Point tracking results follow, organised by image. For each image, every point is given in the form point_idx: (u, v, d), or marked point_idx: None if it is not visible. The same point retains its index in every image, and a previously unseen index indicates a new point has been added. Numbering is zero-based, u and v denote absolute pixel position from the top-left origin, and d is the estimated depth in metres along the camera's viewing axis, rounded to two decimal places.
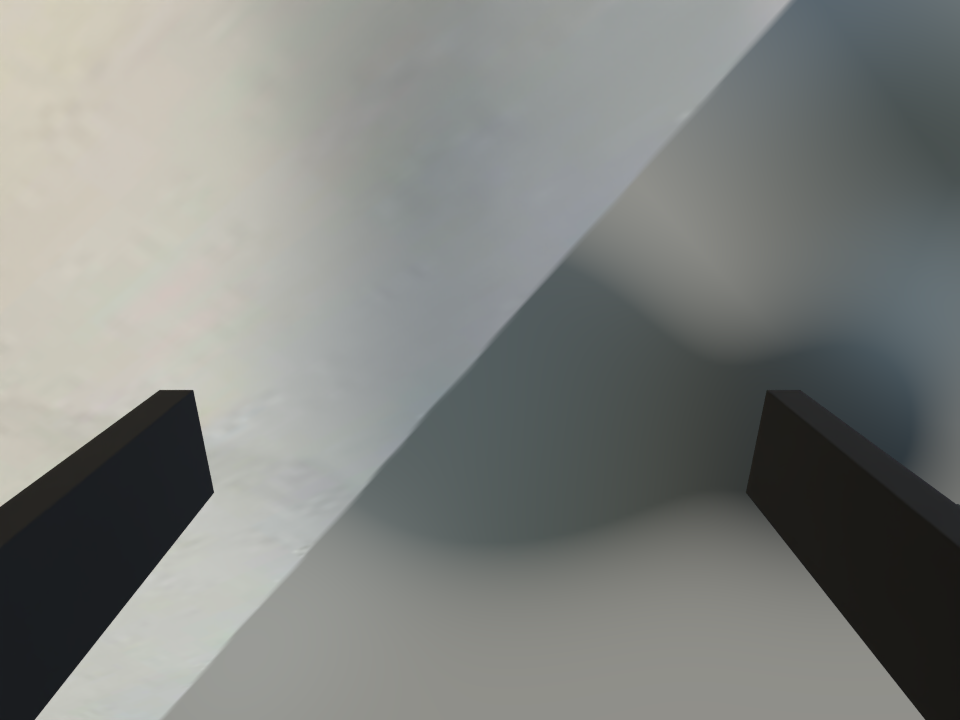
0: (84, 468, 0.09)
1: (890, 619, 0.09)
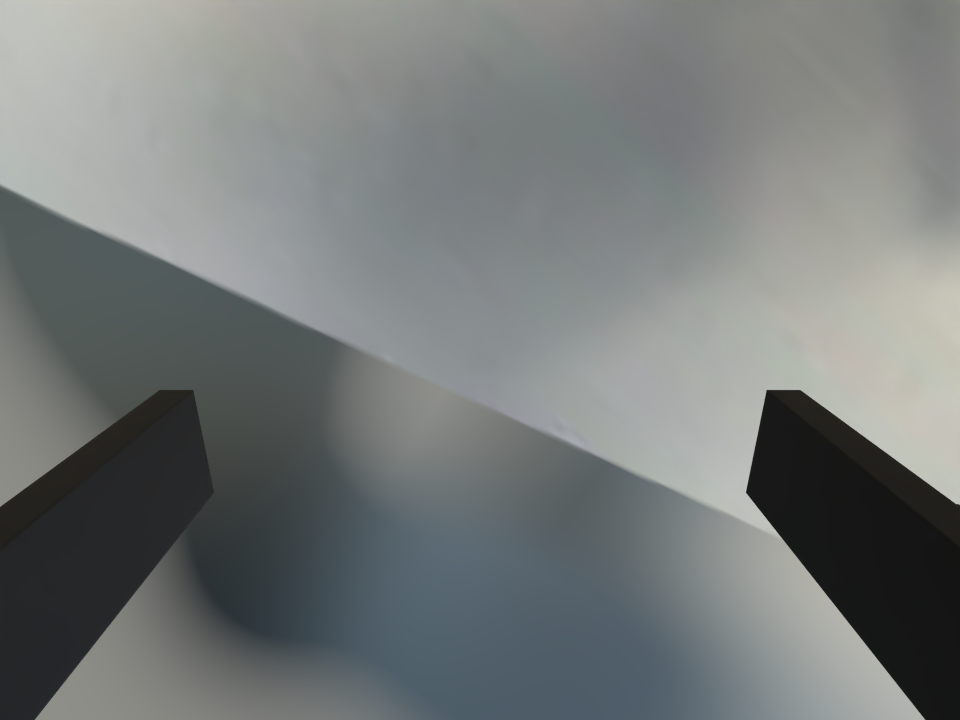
0: (84, 468, 0.09)
1: (890, 619, 0.09)
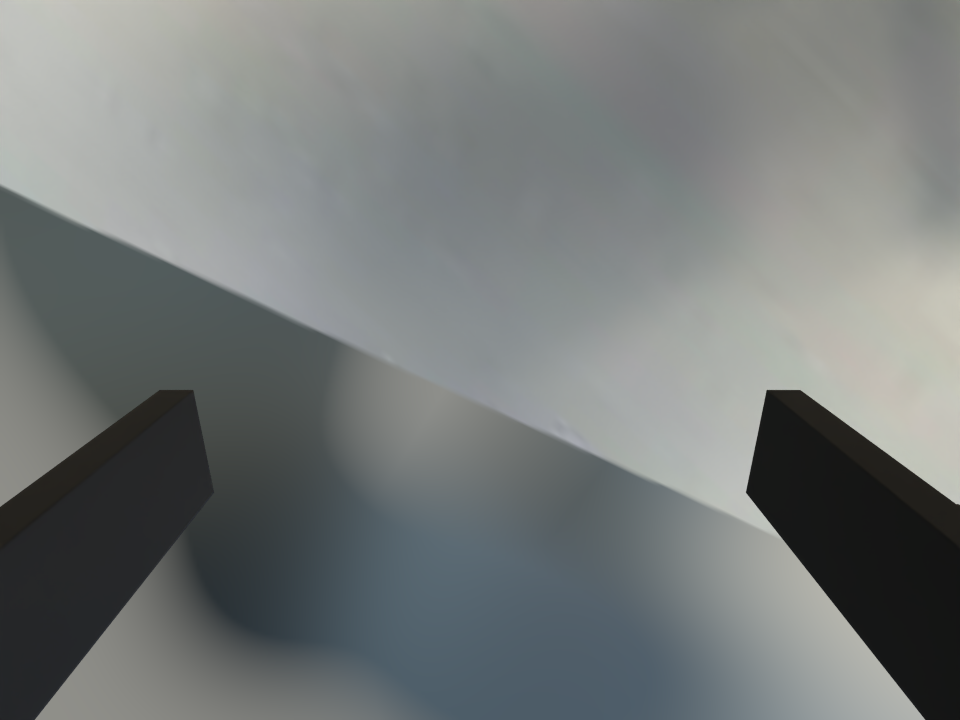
0: (84, 468, 0.09)
1: (890, 619, 0.09)
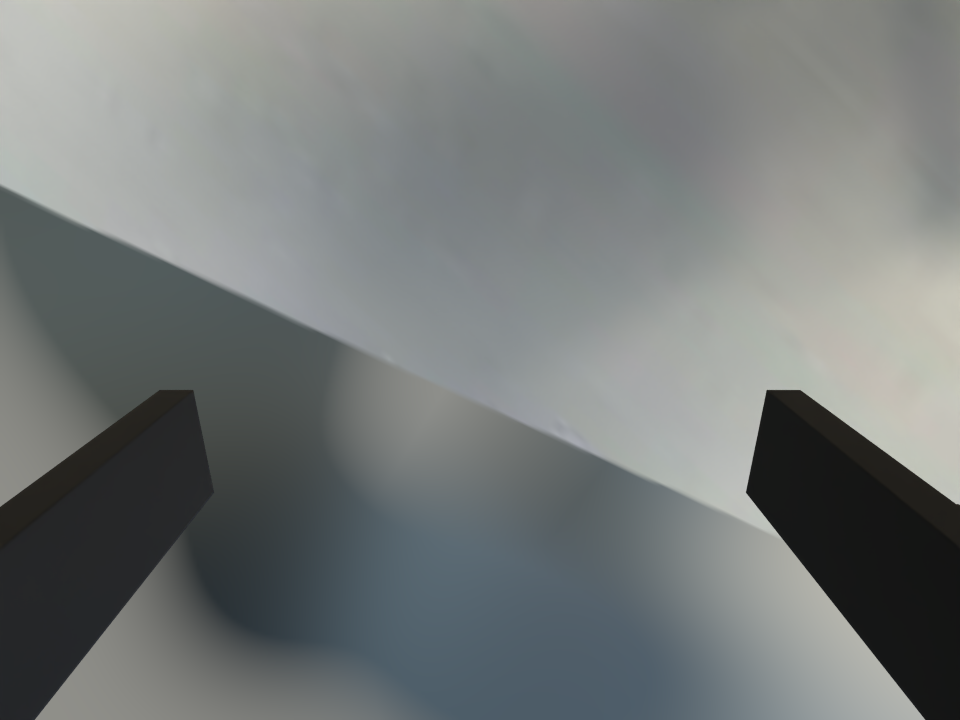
0: (84, 468, 0.09)
1: (890, 619, 0.09)
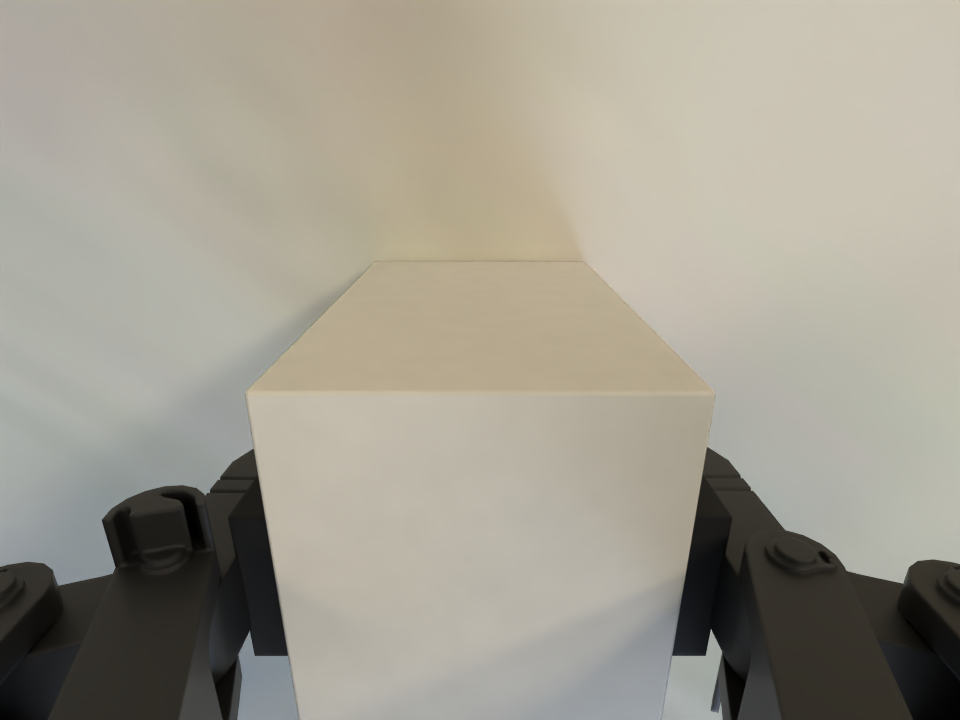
0: None
1: None
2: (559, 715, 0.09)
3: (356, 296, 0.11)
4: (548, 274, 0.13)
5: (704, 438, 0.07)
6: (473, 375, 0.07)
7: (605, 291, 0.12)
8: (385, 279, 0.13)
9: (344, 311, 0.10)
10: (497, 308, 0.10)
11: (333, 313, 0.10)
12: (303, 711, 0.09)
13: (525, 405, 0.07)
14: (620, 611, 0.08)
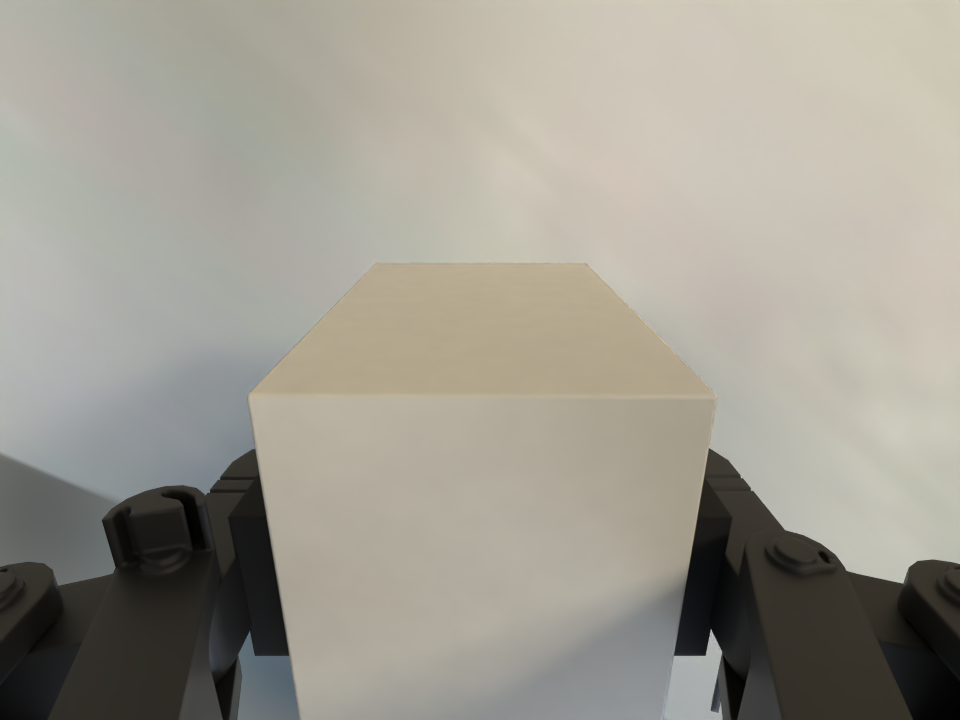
0: None
1: None
2: (560, 717, 0.09)
3: (357, 298, 0.11)
4: (549, 276, 0.13)
5: (706, 441, 0.07)
6: (476, 378, 0.07)
7: (606, 293, 0.12)
8: (386, 281, 0.13)
9: (345, 313, 0.10)
10: (498, 310, 0.10)
11: (334, 315, 0.10)
12: (305, 713, 0.09)
13: (526, 407, 0.07)
14: (622, 613, 0.08)
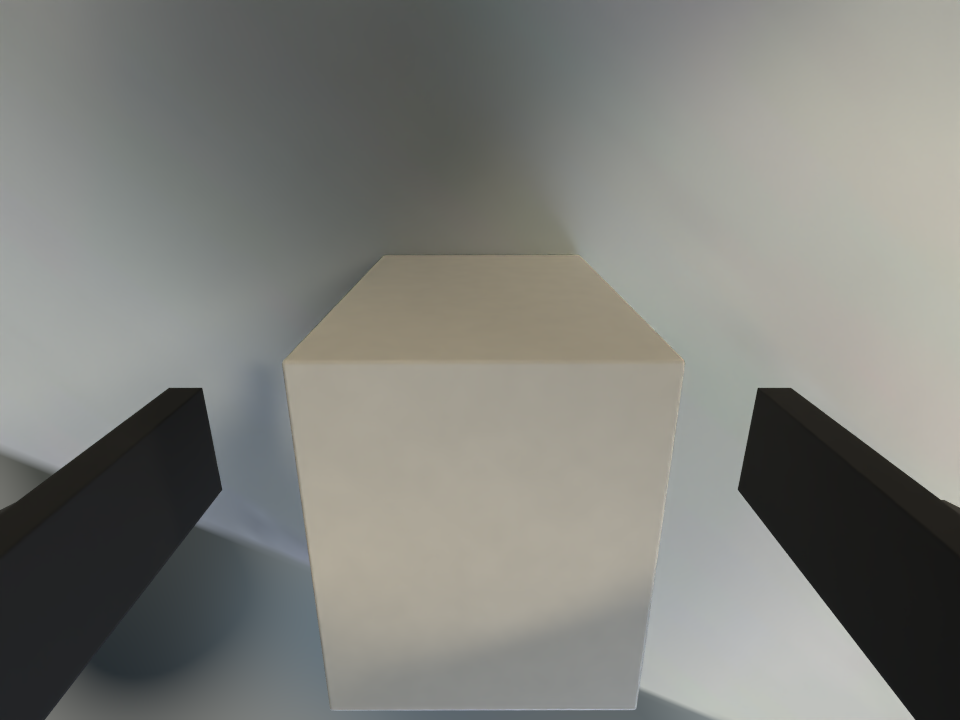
0: (98, 464, 0.09)
1: (875, 613, 0.09)
2: (553, 652, 0.10)
3: (369, 285, 0.12)
4: (544, 266, 0.14)
5: (676, 401, 0.08)
6: (478, 348, 0.08)
7: (596, 280, 0.13)
8: (394, 270, 0.14)
9: (360, 298, 0.11)
10: (498, 295, 0.11)
11: (350, 299, 0.11)
12: (327, 649, 0.10)
13: (522, 372, 0.08)
14: (606, 556, 0.09)
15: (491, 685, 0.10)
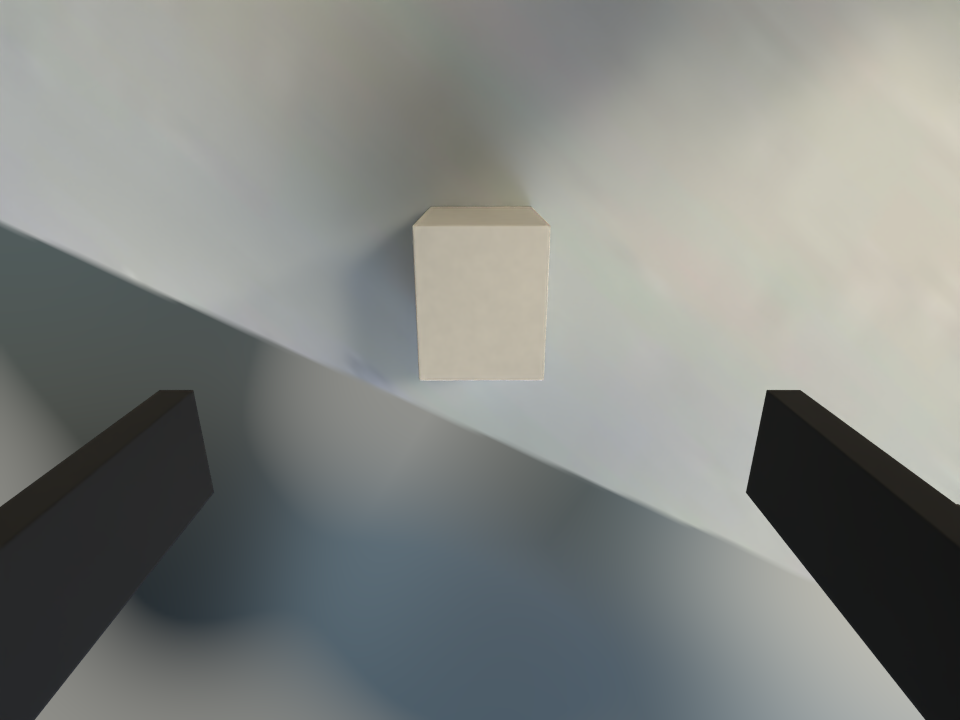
0: (84, 468, 0.09)
1: (890, 619, 0.09)
2: (509, 351, 0.25)
3: (430, 213, 0.28)
4: (511, 209, 0.30)
5: (548, 240, 0.23)
6: (479, 223, 0.23)
7: (533, 212, 0.28)
8: (439, 210, 0.29)
9: (429, 216, 0.26)
10: (487, 215, 0.27)
11: (425, 216, 0.26)
12: (420, 348, 0.25)
13: (494, 229, 0.23)
14: (527, 305, 0.24)
15: (484, 367, 0.25)
